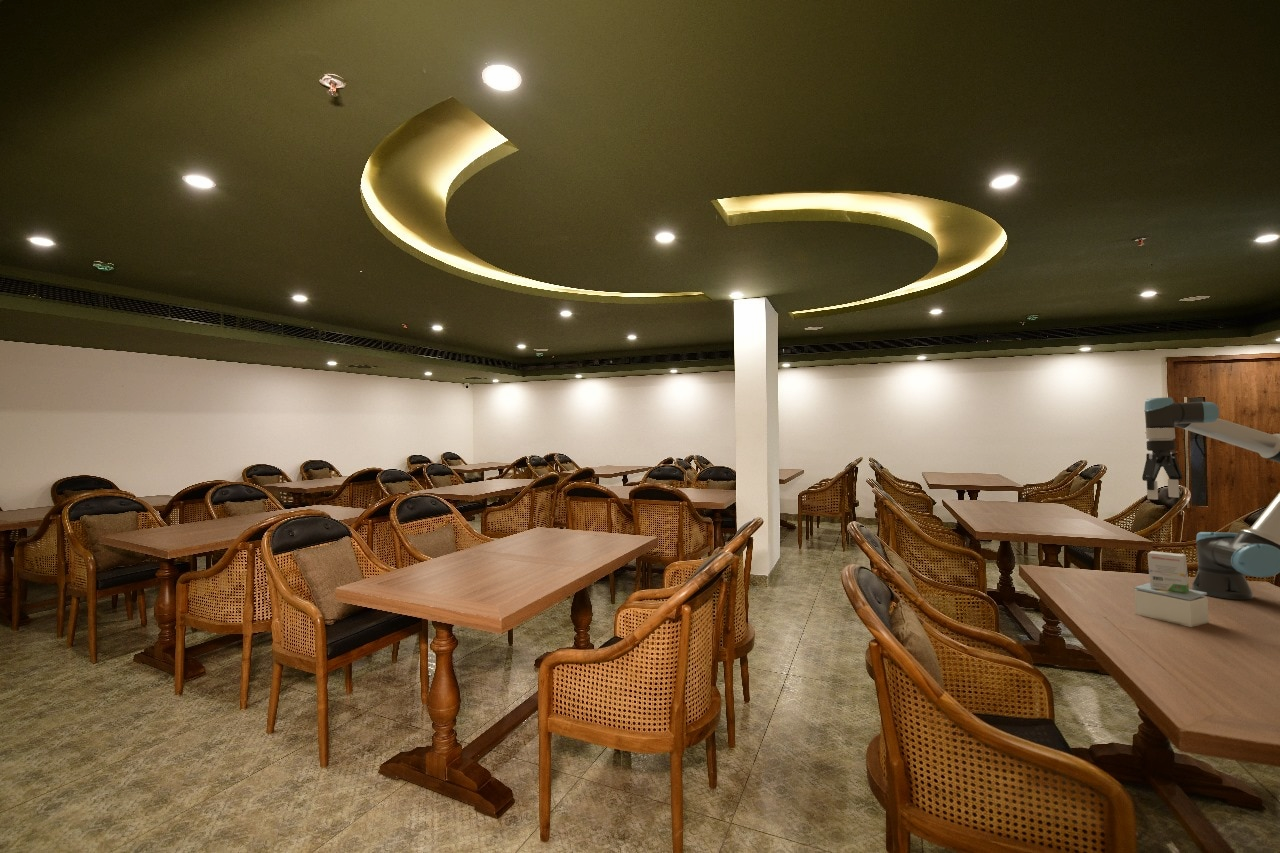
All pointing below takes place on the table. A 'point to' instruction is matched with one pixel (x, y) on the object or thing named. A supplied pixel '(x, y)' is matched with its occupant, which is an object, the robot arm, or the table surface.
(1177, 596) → the lid
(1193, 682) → the table surface
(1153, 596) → the carton
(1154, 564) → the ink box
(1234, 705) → the table surface
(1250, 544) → the robot arm
